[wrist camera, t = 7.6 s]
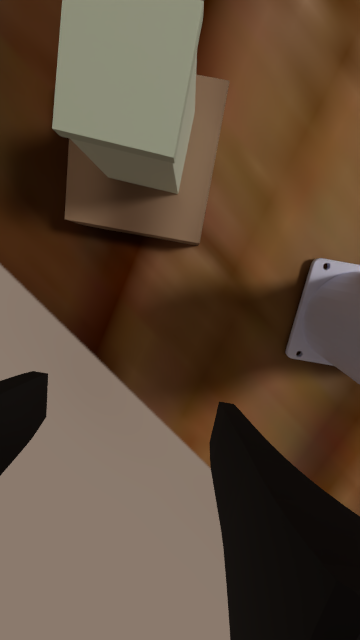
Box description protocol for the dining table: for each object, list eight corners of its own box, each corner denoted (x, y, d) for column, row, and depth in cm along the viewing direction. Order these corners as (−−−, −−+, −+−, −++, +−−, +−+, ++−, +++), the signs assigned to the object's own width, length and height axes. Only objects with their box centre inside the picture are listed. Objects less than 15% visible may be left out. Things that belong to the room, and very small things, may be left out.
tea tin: (197, 109, 14) (203, 1, 8) (179, 197, 15) (173, 157, 9) (117, 90, 14) (64, -35, 8) (105, 179, 15) (52, 128, 9)
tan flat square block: (222, 112, 17) (229, 80, 14) (197, 246, 19) (199, 243, 16) (93, 88, 17) (73, 51, 14) (83, 225, 19) (64, 218, 16)
